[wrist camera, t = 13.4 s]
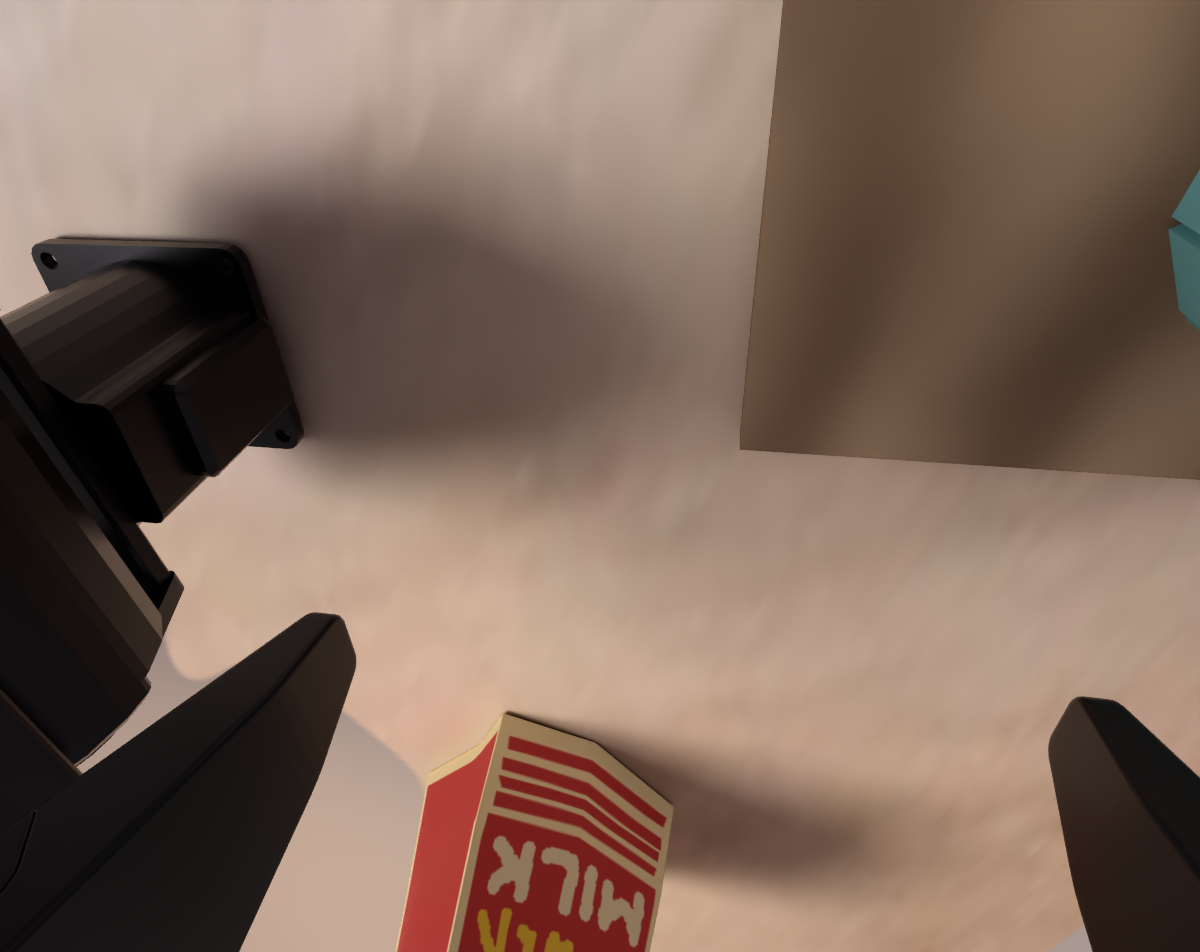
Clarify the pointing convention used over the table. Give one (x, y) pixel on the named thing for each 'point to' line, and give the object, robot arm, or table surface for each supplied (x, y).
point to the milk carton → (536, 850)
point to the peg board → (979, 236)
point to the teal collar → (1188, 253)
